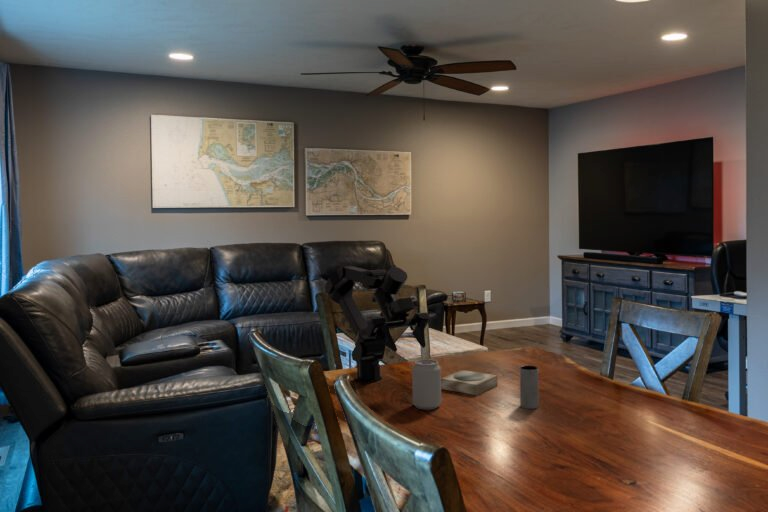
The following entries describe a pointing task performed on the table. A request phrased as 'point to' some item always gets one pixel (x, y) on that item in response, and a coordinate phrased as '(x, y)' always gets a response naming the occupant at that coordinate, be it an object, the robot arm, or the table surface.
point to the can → (426, 384)
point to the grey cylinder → (529, 387)
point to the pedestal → (469, 382)
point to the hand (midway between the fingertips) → (410, 349)
